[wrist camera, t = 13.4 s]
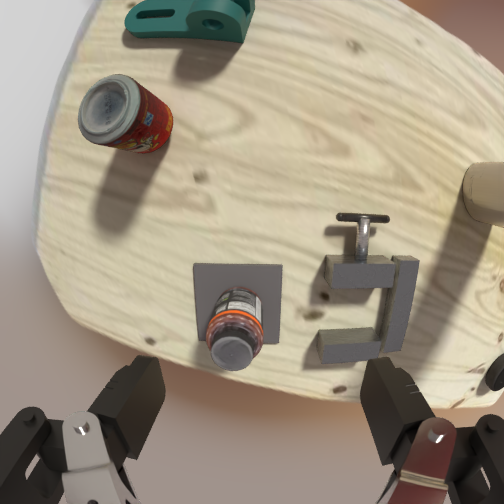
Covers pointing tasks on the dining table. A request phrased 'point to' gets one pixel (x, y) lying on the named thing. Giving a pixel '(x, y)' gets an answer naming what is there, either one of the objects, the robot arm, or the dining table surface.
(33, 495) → the robot arm
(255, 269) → the mat
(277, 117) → the dining table surface
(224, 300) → the supplement bottle
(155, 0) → the bracket
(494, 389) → the smart speaker
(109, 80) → the soda can
